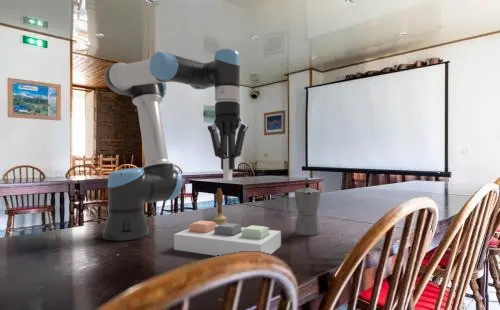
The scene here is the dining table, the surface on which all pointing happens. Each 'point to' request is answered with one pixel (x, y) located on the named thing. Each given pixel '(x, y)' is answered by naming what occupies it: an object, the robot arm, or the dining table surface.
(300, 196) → the coffeepot
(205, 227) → the terracotta key
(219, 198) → the hand bell
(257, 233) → the sage key
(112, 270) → the dining table surface
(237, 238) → the white button panel
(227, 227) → the charcoal key
